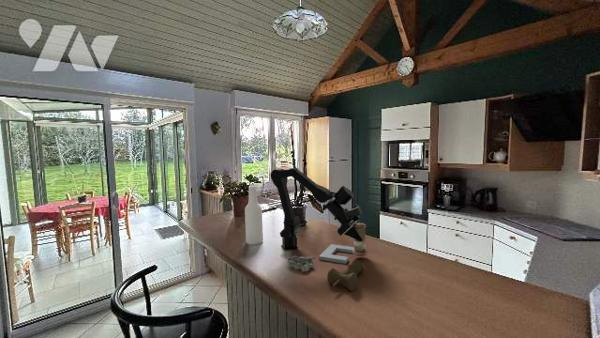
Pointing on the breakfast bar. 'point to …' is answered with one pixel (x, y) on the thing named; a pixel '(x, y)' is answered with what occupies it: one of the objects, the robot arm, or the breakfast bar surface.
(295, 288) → the breakfast bar surface
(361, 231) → the bobbin
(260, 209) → the alcohol
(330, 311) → the breakfast bar surface
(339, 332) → the breakfast bar surface
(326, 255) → the notched board
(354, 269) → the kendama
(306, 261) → the egg carton
